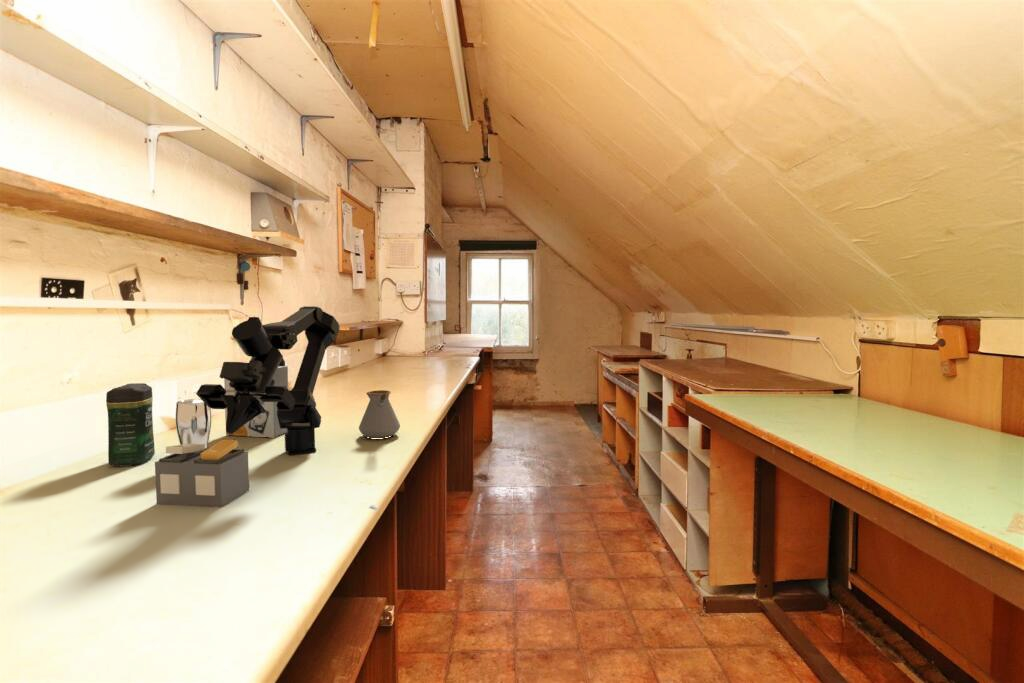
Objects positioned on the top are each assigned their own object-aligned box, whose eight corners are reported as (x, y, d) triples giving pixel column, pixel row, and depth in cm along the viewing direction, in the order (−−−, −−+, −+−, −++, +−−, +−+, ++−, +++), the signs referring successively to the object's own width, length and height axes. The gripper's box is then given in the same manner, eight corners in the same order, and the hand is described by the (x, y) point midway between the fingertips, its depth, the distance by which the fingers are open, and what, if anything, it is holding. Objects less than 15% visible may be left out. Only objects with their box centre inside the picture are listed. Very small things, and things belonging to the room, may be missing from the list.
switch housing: (188, 488, 99) (187, 447, 98) (249, 490, 97) (247, 449, 97) (155, 504, 90) (153, 459, 90) (220, 507, 89) (219, 462, 89)
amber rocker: (222, 445, 96) (221, 439, 96) (238, 445, 96) (237, 439, 96) (201, 459, 90) (200, 453, 90) (217, 460, 90) (216, 454, 90)
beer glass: (194, 470, 109) (192, 404, 108) (169, 467, 111) (167, 403, 110) (219, 461, 116) (218, 399, 115) (195, 458, 117) (193, 397, 117)
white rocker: (189, 449, 97) (190, 443, 97) (204, 450, 96) (204, 443, 97) (165, 453, 91) (166, 446, 91) (181, 453, 91) (182, 447, 91)
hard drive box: (224, 436, 139) (222, 366, 137) (243, 429, 146) (241, 363, 145) (273, 438, 136) (271, 368, 135) (290, 431, 144) (288, 365, 142)
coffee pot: (358, 433, 143) (357, 382, 142) (397, 429, 147) (397, 380, 146) (361, 453, 123) (360, 395, 122) (407, 449, 127) (406, 392, 126)
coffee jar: (144, 465, 112) (140, 386, 111) (103, 469, 110) (98, 388, 108) (160, 453, 121) (157, 380, 120) (122, 456, 119) (118, 381, 118)
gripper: (200, 345, 101) (160, 409, 90) (286, 347, 99) (254, 411, 89) (227, 377, 109) (193, 439, 99) (307, 379, 107) (280, 442, 97)
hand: (228, 432), depth 96 cm, fingers closed
